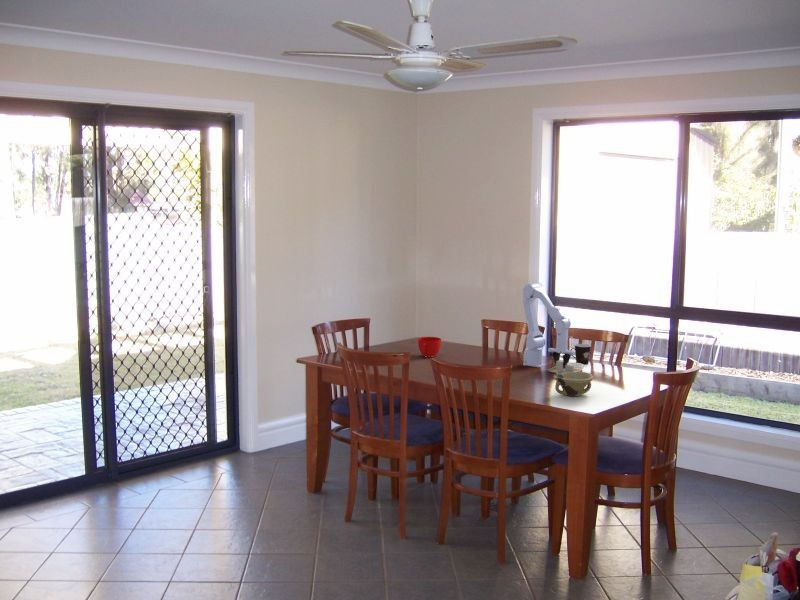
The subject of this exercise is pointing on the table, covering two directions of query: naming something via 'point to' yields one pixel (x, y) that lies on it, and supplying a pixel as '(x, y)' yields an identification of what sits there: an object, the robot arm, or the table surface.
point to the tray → (562, 371)
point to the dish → (577, 365)
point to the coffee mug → (582, 353)
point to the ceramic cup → (429, 345)
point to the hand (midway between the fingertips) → (561, 367)
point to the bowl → (573, 383)
